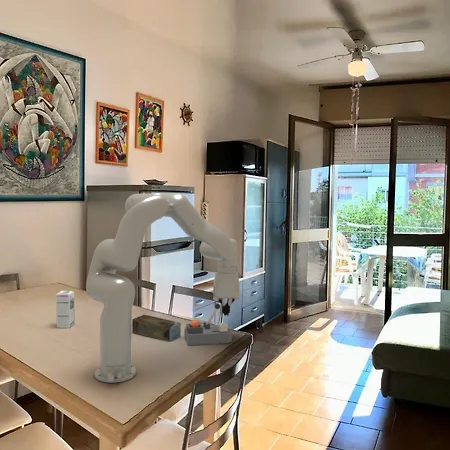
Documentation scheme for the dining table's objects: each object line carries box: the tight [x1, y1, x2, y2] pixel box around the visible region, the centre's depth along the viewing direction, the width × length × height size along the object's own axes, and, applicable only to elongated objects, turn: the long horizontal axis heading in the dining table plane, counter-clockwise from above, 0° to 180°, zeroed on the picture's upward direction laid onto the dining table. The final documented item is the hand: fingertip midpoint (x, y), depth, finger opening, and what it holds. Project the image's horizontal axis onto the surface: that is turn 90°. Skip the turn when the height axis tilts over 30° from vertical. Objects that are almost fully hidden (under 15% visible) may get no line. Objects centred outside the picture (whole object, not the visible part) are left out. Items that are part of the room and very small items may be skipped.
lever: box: [205, 303, 221, 325], centre depth 173 cm, size 2×2×10 cm
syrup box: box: [55, 290, 75, 329], centre depth 182 cm, size 6×6×14 cm
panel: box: [183, 321, 233, 346], centre depth 171 cm, size 10×17×6 cm, turn 104°
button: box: [190, 319, 200, 328], centre depth 168 cm, size 3×3×3 cm
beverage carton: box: [131, 314, 181, 342], centre depth 175 cm, size 8×19×7 cm, turn 62°
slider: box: [217, 322, 229, 332], centre depth 169 cm, size 3×3×2 cm
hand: (225, 314), depth 174 cm, fingers closed
